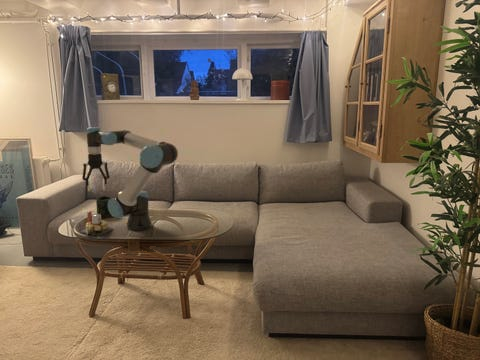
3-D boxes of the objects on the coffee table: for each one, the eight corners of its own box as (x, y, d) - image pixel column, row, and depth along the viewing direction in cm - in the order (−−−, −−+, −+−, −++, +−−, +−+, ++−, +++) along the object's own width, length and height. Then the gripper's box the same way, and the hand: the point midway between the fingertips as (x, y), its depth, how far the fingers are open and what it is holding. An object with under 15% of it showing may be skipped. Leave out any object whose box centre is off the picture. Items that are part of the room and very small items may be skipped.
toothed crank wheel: (111, 229, 223) (111, 215, 221) (91, 233, 214) (91, 219, 213) (98, 222, 234) (98, 209, 232) (79, 227, 225) (78, 213, 224)
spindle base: (113, 229, 227) (112, 213, 225) (95, 237, 213) (94, 220, 211) (96, 226, 231) (96, 211, 229) (78, 233, 218) (77, 217, 216)
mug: (115, 212, 261) (115, 196, 258) (106, 219, 246) (106, 201, 244) (100, 212, 261) (100, 195, 259) (91, 218, 247) (90, 201, 245)
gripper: (111, 151, 231) (113, 187, 235) (75, 153, 220) (77, 190, 225) (113, 153, 224) (115, 190, 229) (76, 154, 214) (79, 193, 218)
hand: (96, 190), depth 227 cm, fingers open, 8 cm apart
